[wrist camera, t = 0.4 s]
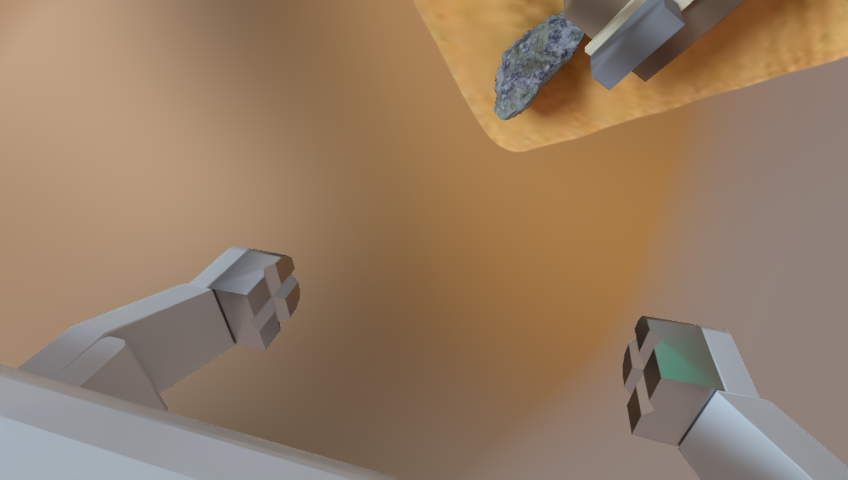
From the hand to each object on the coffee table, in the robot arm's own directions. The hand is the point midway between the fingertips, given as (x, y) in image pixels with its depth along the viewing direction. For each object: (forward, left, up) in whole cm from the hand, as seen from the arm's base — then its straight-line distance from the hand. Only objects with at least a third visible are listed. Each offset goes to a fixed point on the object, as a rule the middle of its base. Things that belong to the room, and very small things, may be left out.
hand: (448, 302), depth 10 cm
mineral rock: (+16, +14, -51) cm, 55 cm away
